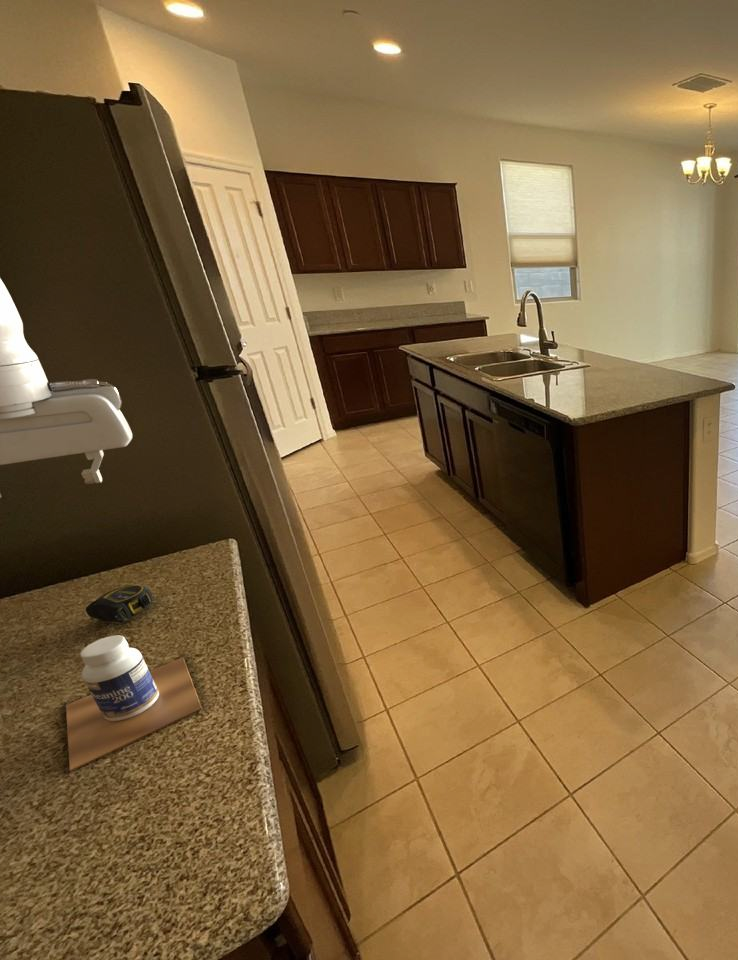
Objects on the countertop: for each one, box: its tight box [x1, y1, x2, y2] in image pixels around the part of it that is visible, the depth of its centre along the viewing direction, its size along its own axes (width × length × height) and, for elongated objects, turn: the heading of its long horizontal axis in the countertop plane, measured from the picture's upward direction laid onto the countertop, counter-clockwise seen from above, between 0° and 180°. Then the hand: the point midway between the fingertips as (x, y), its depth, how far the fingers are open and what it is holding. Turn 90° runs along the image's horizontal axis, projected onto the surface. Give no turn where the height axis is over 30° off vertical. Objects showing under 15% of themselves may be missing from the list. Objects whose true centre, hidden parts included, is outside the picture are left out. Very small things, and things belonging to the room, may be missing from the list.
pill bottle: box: [79, 635, 159, 721], centre depth 65 cm, size 5×5×10 cm
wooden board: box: [65, 657, 203, 772], centre depth 67 cm, size 14×12×1 cm
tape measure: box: [85, 584, 154, 623], centre depth 85 cm, size 7×7×4 cm
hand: (45, 491), depth 69 cm, fingers open, 8 cm apart
